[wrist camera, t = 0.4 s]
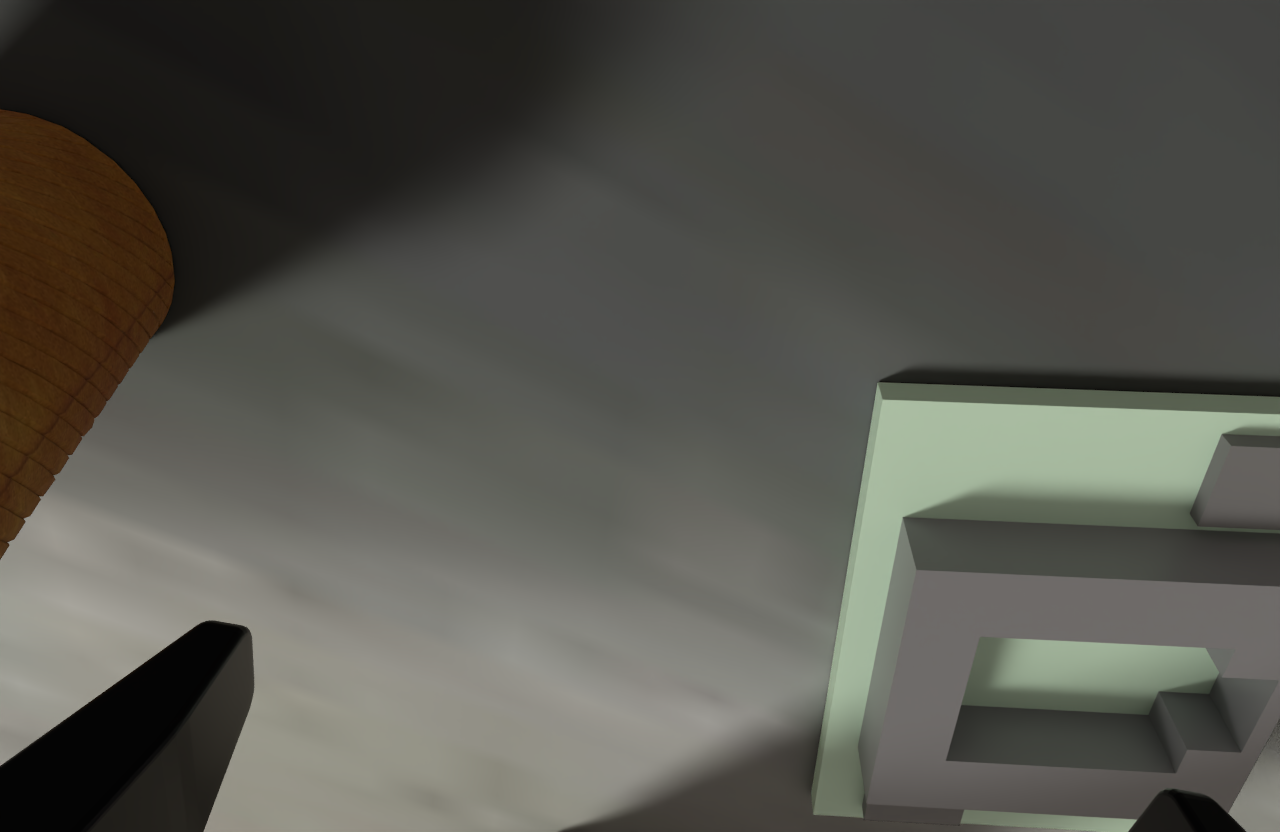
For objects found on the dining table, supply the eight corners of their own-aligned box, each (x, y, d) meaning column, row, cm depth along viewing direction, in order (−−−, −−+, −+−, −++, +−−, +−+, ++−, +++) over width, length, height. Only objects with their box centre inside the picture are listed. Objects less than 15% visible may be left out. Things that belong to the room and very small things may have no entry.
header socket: (1192, 765, 29) (1221, 824, 28) (857, 746, 30) (866, 804, 28) (1306, 534, 24) (1350, 589, 23) (902, 517, 25) (916, 569, 23)
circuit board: (1180, 814, 32) (1196, 851, 31) (811, 793, 32) (814, 828, 31) (1388, 400, 23) (1422, 431, 22) (877, 382, 24) (885, 411, 23)
